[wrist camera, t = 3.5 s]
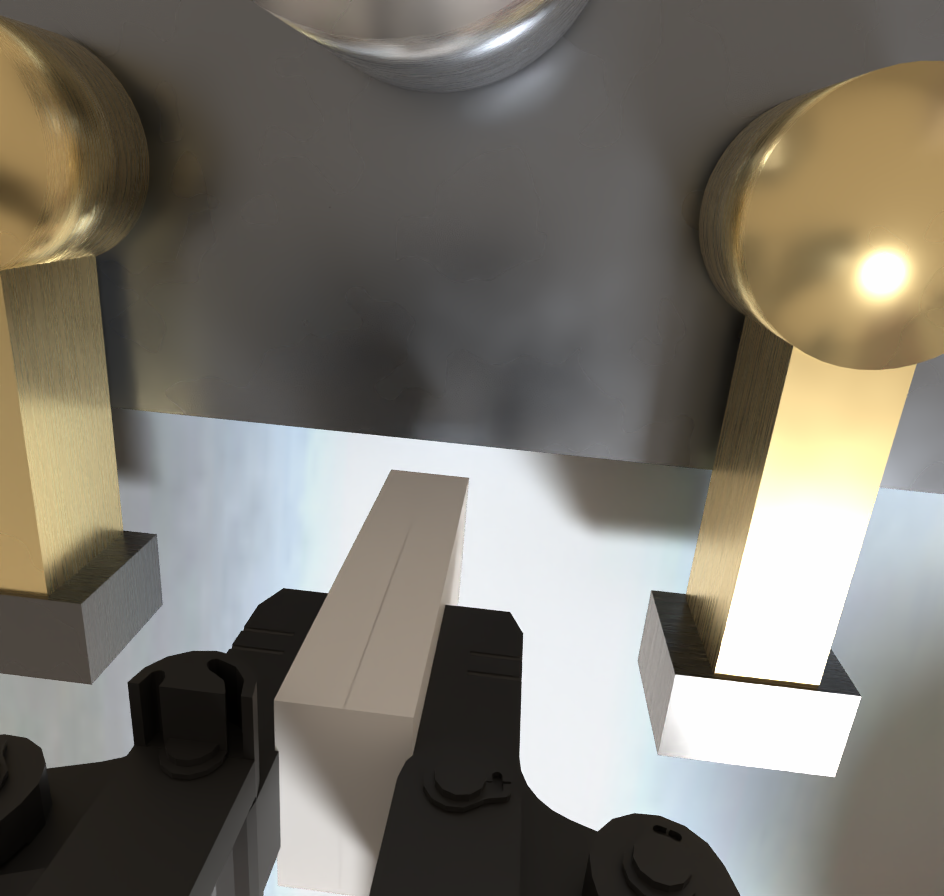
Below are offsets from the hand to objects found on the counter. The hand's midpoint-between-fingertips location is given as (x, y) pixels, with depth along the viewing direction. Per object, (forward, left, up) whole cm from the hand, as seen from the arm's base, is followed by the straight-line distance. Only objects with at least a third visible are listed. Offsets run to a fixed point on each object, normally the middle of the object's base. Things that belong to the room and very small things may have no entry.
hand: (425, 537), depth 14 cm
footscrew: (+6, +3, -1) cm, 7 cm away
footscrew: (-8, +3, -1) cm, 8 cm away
